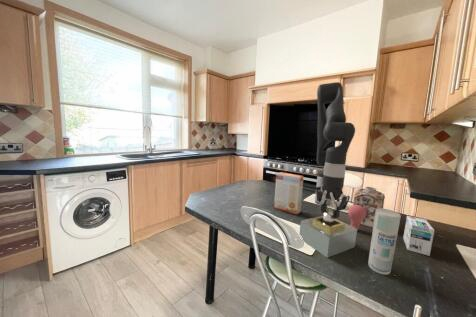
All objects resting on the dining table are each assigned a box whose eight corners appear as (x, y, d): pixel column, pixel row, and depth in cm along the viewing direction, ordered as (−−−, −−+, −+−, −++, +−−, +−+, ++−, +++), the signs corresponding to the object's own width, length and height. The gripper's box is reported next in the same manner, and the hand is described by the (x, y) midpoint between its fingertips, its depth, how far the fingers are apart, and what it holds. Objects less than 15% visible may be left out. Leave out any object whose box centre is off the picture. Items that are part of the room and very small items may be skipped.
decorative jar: (381, 221, 101) (386, 188, 98) (377, 229, 93) (383, 193, 90) (355, 214, 109) (359, 183, 106) (349, 221, 101) (354, 187, 98)
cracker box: (300, 211, 110) (304, 175, 106) (296, 215, 105) (299, 177, 102) (278, 205, 118) (280, 171, 115) (273, 208, 114) (275, 173, 111)
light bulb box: (430, 256, 73) (435, 230, 72) (407, 250, 77) (411, 224, 75) (422, 243, 82) (427, 219, 81) (402, 238, 86) (406, 215, 84)
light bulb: (361, 227, 94) (364, 203, 92) (365, 234, 87) (369, 209, 86) (344, 224, 96) (347, 201, 95) (347, 231, 90) (350, 206, 88)
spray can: (369, 271, 65) (378, 214, 62) (365, 259, 70) (373, 206, 67) (393, 277, 62) (404, 218, 59) (387, 264, 68) (397, 210, 65)
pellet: (326, 221, 82) (328, 210, 81) (335, 226, 78) (337, 214, 77) (320, 223, 80) (321, 212, 79) (328, 228, 77) (330, 216, 76)
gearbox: (325, 230, 90) (327, 211, 89) (354, 247, 78) (357, 225, 76) (299, 238, 83) (301, 217, 81) (327, 257, 71) (329, 233, 69)
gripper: (357, 178, 71) (352, 221, 74) (325, 169, 84) (320, 207, 86) (344, 179, 68) (339, 225, 70) (312, 171, 81) (308, 210, 83)
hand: (329, 215), depth 78 cm, fingers open, 4 cm apart
